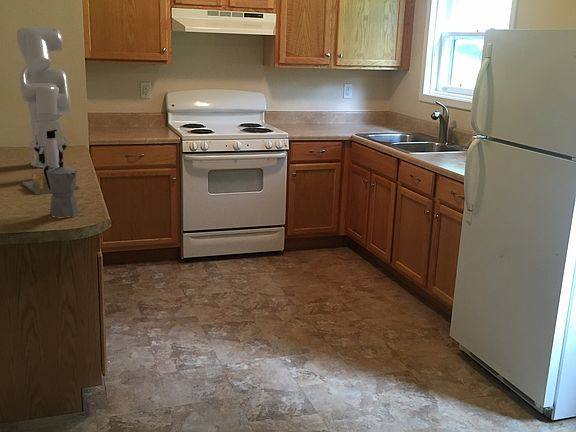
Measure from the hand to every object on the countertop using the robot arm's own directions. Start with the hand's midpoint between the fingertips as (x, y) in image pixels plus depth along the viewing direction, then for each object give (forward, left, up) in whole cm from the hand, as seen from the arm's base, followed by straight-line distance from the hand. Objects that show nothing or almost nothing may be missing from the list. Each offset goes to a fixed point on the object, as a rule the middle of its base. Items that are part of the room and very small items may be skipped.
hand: (51, 161), depth 254 cm
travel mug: (0, 0, -7) cm, 7 cm away
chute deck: (+13, -5, -7) cm, 16 cm away
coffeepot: (+50, -12, -7) cm, 52 cm away
